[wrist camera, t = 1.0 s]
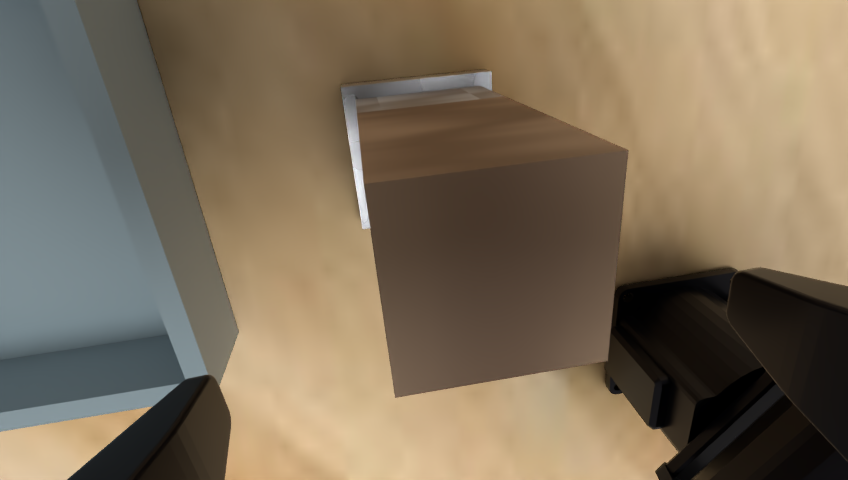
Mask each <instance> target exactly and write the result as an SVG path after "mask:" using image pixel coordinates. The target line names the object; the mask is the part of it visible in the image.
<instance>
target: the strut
mask: <svg viewBox="0 0 848 480" xmlns="http://www.w3.org/2000/svg"><path fill="white" fill-rule="evenodd" d="M355 100H356V110H357V120H358V131H359V141H360V151H361V161H362V171H363V181H364V189H365V196H366V202H367V209H368V216H369V223H370V230H371V236H372V243H373V250H374V257H375V264H376V270H377V277H378V284H379V291H380V298H381V304H382V311H383V318H384V325H385V332H386V338H387V345H388V352H389V359H390V366H391V372H392V379H393V386H394V393H395V398H396V397H402V396H408V395H413V394H419V393H425V392H431V391H437V390H442V389H448V388H454V387H460V386H466V385H471V384H477V383H483V382H489V381H495V380H500V379H506V378H512V377H518V376H524V375H529V374H535V373H541V372H547V371H553V370H558V369H564V368H570V367H576V366H582V365H587V364H593V363H599V362H605V361H608V352H609V342H610V332H611V322H612V312H613V302H614V291H615V281H616V271H617V261H618V251H619V240H620V230H621V220H622V210H623V200H624V190H625V179H626V169H627V159H628V150H627V149H624V148H622V147H620V146H617V145H615V144H613V143H611V142H608V141H606V140H604V139H601V138H599V137H597V136H594V135H592V134H590V133H588V132H585V131H583V130H581V129H578V128H576V127H574V126H571V125H569V124H567V123H565V122H562V121H560V120H558V119H555V118H553V117H551V116H548V115H546V114H544V113H542V112H539V111H537V110H535V109H532V108H530V107H528V106H525V105H523V104H521V103H519V102H516V101H514V100H512V99H509V98H507V97H505V96H502V95H500V94H498V93H496V92H493V91H491V90H489V89H486V88H484V87H482V86H472V87H463V88H454V89H444V90H435V91H426V92H417V93H408V94H399V95H390V96H381V97H372V98H363V99H355Z"/></svg>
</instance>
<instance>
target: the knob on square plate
mask: <svg viewBox="0 0 848 480" xmlns="http://www.w3.org/2000/svg"><path fill="white" fill-rule="evenodd" d="M472 86H482V87H484V88H486V89H489V90H491V91H492V71H489V70H486V69H480V70H470V71H461V72H452V73H442V74H433V75H424V76H414V77H405V78H395V79H386V80H377V81H367V82H358V83H349V84H341V94H342V100H343V107H344V113H345V119H346V126H347V132H348V139H349V145H350V152H351V158H352V165H353V171H354V178H355V184H356V191H357V197H358V203H359V210H360V216H361V223H362V229H368V228H370V223H369V216H368V209H367V202H366V196H365V189H364V181H363V171H362V161H361V151H360V141H359V131H358V120H357V110H356V100H355V99H363V98H372V97H381V96H390V95H399V94H408V93H417V92H426V91H435V90H444V89H454V88H463V87H472Z"/></svg>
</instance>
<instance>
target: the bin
mask: <svg viewBox="0 0 848 480" xmlns="http://www.w3.org/2000/svg"><path fill="white" fill-rule="evenodd" d="M238 333H239V331H238V328H237V325H236V322H235V318H234V315H233V312H232V309H231V305H230V302H229V299H228V296H227V292H226V289H225V286H224V282H223V279H222V276H221V273H220V269H219V266H218V263H217V260H216V256H215V253H214V250H213V247H212V243H211V240H210V237H209V234H208V230H207V227H206V224H205V221H204V217H203V214H202V211H201V208H200V204H199V201H198V198H197V195H196V191H195V188H194V185H193V182H192V178H191V175H190V172H189V168H188V165H187V162H186V159H185V155H184V152H183V149H182V146H181V142H180V139H179V136H178V133H177V129H176V126H175V123H174V120H173V116H172V113H171V110H170V107H169V103H168V100H167V97H166V94H165V90H164V87H163V84H162V81H161V77H160V74H159V71H158V67H157V64H156V61H155V58H154V54H153V51H152V48H151V45H150V41H149V38H148V35H147V32H146V28H145V25H144V22H143V19H142V15H141V12H140V9H139V6H138V2H137V0H0V432H1V431H7V430H13V429H19V428H25V427H31V426H37V425H43V424H49V423H55V422H61V421H67V420H73V419H79V418H85V417H91V416H97V415H103V414H109V413H115V412H121V411H127V410H133V409H139V408H145V407H151V406H154V405H155V404H156V403H158V402H159V401H160V400H161V399H162V398H164V397H165V396H166V395H167V394H168V393H169V392H171V391H172V390H173V389H174V388H175V387H176V386H178V385H179V384H180V383H181V382H182V381H184V380H185V379H188V378H192V377H197V376H202V375H208V374H209V375H212V376H214V377H215V379H216V380H217V382H218V384H219V385H220V383H221V380H222V377H223V374H224V372H225V369H226V366H227V363H228V360H229V358H230V355H231V352H232V349H233V347H234V344H235V341H236V338H237V335H238Z"/></svg>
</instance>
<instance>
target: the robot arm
mask: <svg viewBox="0 0 848 480" xmlns="http://www.w3.org/2000/svg"><path fill="white" fill-rule="evenodd" d="M628 293H629V294H628ZM626 294H628V296H627V297H625V298H624V296H625V295H626ZM605 370H606V371H607V374H606V387H607V388H608V389H609V391H610V392H611V393H613V394H620V393H623V394H624V395H625V396H626V398H627V399H628V400H629V402H630V403H631V404H632V406H633V407H634V408H635V410H636V411H637V412H638V414H639V415H640V416H641V418H642V419H643V420H644V422H645V423H646V424H647V425H648V426H649V427H650V428H652V429H661V431H662V432H663V433H664V434H665V436H666V437H667V438H668V440H669V441H670V442H671V443H672V445H673V446H674V447H675V449H676V450H677V451H678V453H677V454H676V455H675V456H674V457H673V458H672V459H671V460H670V461H669V462H668V463H665V462H664V463H663V464H662V465H661V466H660V467H659V468H658V469H657V470H656V471H655V472H656V474H657V476H658V478H659V480H848V286H844V285H839V284H835V283H830V282H825V281H821V280H816V279H812V278H807V277H803V276H798V275H794V274H789V273H784V272H780V271H775V270H771V269H766V268H752V269H747V270H742V271H738V270H736V269H734V268H729V269H722V270H716V271H709V272H703V273H697V274H690V275H684V276H677V277H671V278H665V279H658V280H652V281H646V282H639V283H633V284H626V285H623V286H620V287H619V288H618V289H617V290H616V291H615V294H614V303H613V313H612V323H611V332H610V342H609V352H608V361H606V363H605ZM230 431H231V416H230V412H229V409H228V407H227V404H226V402H225V399H224V397H223V394H222V392H221V389H220V387H219V384H218V382H217V380H216V379H215V377H214V376H212V375H209V374H208V375H202V376H197V377H192V378H188V379H185V380H184V381H182V382H181V383H180V384H179V385H178V386H176V387H175V388H174V389H173V390H172V391H171V392H169V393H168V394H167V395H166V396H165V397H164V398H162V399H161V400H160V401H159V402H158V403H156V404H155V405H154V406H153V407H152V408H151V409H149V410H148V411H147V412H146V413H145V414H144V415H142V416H141V417H140V418H139V419H138V420H137V421H135V422H134V423H133V424H132V425H131V426H130V427H128V428H127V429H126V430H125V431H124V432H122V433H121V434H120V435H119V436H118V437H117V438H115V439H114V440H113V441H112V442H111V443H110V444H108V445H107V446H106V447H105V448H104V449H103V450H101V451H100V452H99V453H98V454H97V455H96V456H94V457H93V458H92V459H91V460H90V461H88V462H87V463H86V464H85V465H84V466H83V467H81V468H80V469H79V470H78V471H77V472H76V473H74V474H73V475H72V476H71V477H70V478H69V479H67V480H225V473H226V464H227V456H228V448H229V439H230Z"/></svg>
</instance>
